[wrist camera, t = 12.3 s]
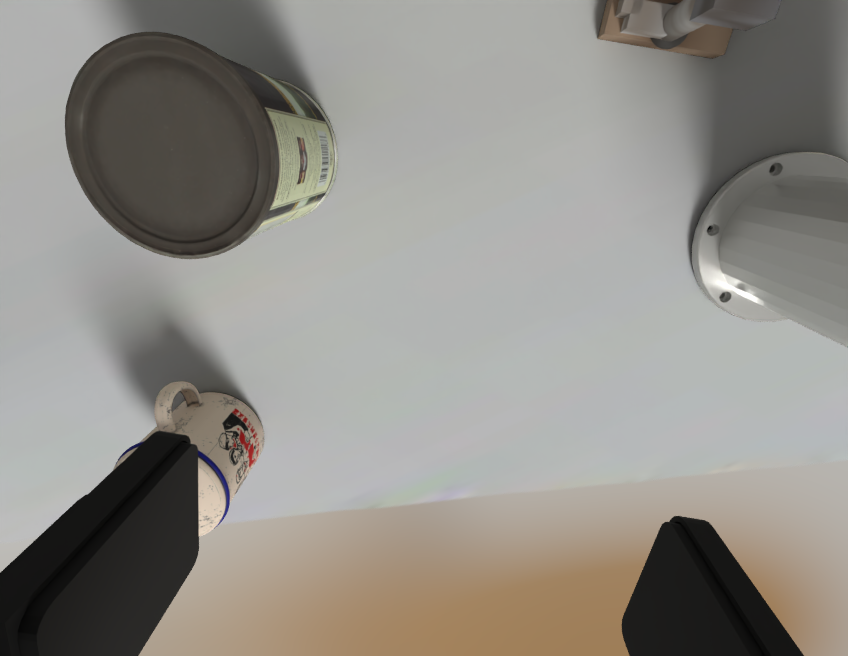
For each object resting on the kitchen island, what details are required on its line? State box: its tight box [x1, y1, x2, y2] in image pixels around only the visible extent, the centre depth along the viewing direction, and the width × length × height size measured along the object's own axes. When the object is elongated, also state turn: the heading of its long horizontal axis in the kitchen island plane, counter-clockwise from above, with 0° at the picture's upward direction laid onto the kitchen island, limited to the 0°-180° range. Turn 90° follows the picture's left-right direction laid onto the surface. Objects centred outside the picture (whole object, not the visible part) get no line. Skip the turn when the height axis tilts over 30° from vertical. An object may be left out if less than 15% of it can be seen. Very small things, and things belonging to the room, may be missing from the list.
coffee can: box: [65, 32, 338, 259], centre depth 30 cm, size 10×10×14 cm
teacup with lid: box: [114, 381, 264, 537], centre depth 39 cm, size 12×9×12 cm
